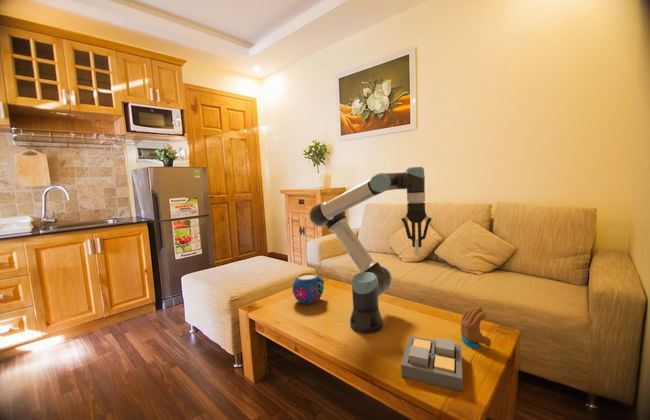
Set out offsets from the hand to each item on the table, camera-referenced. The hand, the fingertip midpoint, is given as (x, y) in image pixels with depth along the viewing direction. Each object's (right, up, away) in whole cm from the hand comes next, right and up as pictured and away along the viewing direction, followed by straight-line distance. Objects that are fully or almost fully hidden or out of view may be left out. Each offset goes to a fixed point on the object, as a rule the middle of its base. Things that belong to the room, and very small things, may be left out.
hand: (417, 254), depth 124 cm
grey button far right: (+2, -32, -25) cm, 41 cm away
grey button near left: (-9, -33, -29) cm, 45 cm away
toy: (+17, -33, -15) cm, 41 cm away
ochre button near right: (-2, -35, -32) cm, 47 cm away
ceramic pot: (-51, -32, +33) cm, 68 cm away
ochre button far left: (-5, -34, -21) cm, 41 cm away
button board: (-3, -36, -27) cm, 45 cm away
